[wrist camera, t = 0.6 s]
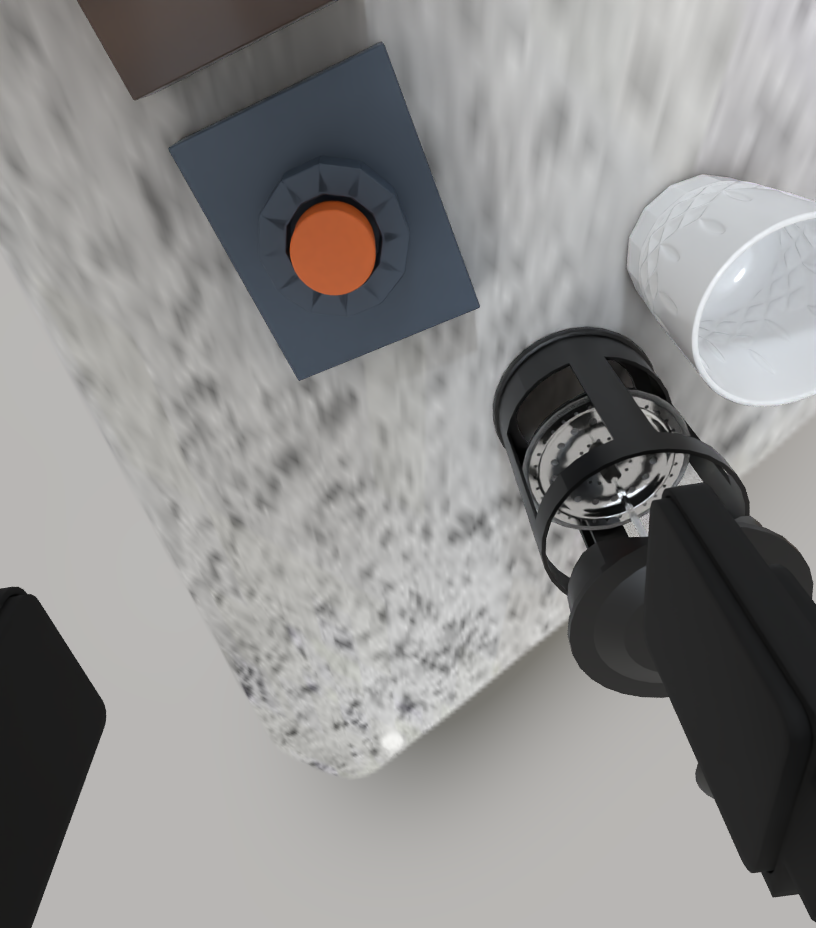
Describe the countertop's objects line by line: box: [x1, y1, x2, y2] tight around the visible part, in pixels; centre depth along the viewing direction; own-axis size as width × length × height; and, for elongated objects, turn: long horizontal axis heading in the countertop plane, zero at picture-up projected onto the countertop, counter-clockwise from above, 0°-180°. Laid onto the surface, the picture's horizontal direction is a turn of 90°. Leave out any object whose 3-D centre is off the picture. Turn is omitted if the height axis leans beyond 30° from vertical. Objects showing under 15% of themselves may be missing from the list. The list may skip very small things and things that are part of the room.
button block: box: [168, 42, 480, 381], centre depth 31 cm, size 12×10×4 cm
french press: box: [493, 327, 813, 798], centre depth 30 cm, size 12×9×23 cm
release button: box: [290, 201, 376, 295], centre depth 29 cm, size 4×4×2 cm
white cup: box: [627, 174, 816, 407], centre depth 30 cm, size 8×8×10 cm
